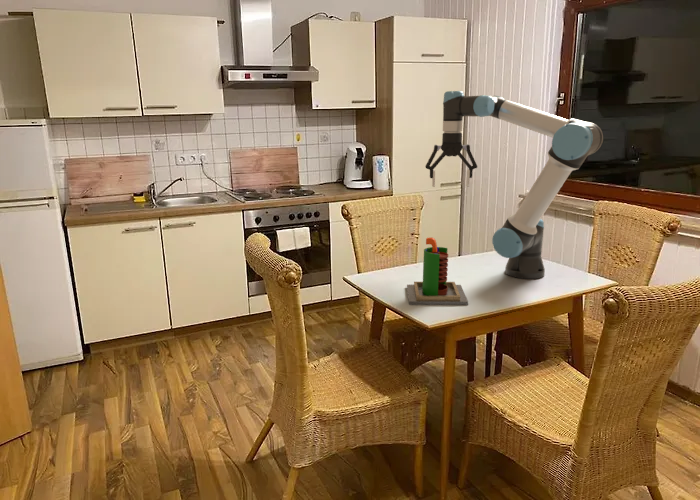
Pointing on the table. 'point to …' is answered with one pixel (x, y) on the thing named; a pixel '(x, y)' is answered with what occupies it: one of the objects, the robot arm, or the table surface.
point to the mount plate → (452, 298)
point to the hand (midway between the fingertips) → (450, 186)
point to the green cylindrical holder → (435, 269)
